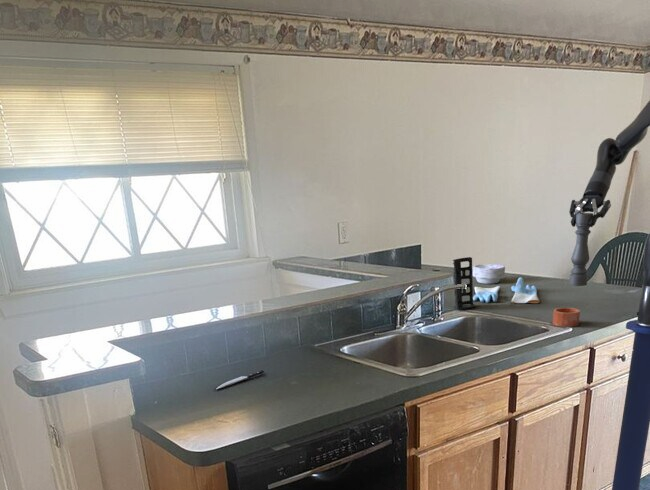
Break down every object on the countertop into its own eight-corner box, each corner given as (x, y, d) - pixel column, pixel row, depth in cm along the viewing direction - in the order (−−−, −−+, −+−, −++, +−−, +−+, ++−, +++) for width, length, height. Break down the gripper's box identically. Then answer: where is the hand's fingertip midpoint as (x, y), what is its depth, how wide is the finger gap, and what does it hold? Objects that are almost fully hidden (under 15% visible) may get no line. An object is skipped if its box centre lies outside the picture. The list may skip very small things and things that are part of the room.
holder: (466, 310, 264) (464, 260, 258) (449, 310, 269) (446, 260, 262) (478, 305, 272) (476, 256, 266) (461, 305, 277) (459, 257, 270)
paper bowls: (508, 280, 321) (509, 264, 318) (498, 286, 309) (499, 269, 306) (478, 278, 329) (479, 262, 325) (467, 284, 317) (468, 267, 314)
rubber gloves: (471, 303, 277) (472, 288, 275) (474, 288, 306) (475, 274, 304) (539, 304, 271) (540, 288, 268) (535, 288, 300) (536, 274, 297)
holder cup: (584, 324, 237) (585, 311, 235) (563, 328, 234) (565, 314, 232) (567, 319, 244) (568, 306, 242) (547, 322, 242) (548, 309, 240)
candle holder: (572, 282, 246) (579, 212, 237) (589, 283, 243) (596, 212, 233) (566, 285, 242) (572, 214, 232) (583, 286, 238) (590, 214, 229)
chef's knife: (209, 389, 189) (215, 390, 187) (208, 385, 188) (215, 386, 186) (258, 372, 201) (265, 373, 199) (258, 368, 201) (264, 369, 199)
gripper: (575, 180, 238) (559, 218, 234) (616, 179, 229) (600, 218, 225) (580, 194, 244) (564, 231, 240) (619, 194, 235) (604, 232, 231)
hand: (581, 225), depth 233 cm, fingers closed on candle holder, 5 cm apart
